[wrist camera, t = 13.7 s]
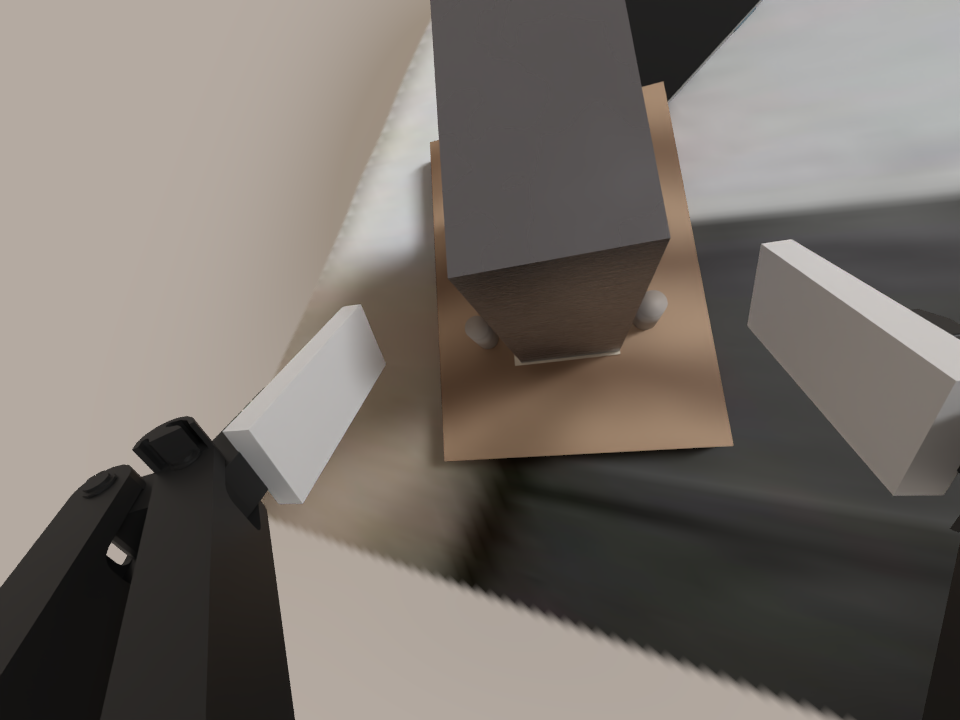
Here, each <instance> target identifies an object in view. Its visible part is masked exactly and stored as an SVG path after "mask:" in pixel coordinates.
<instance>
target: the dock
mask: <svg viewBox="0 0 960 720" xmlns="http://www.w3.org/2000/svg"><path fill="white" fill-rule="evenodd" d="M642 91H643V96H644V102H645V107H646V112H647V117H648V122H649V128H650V133H651V138H652V143H653V148H654V154H655V159H656V164H657V169H658V174H659V179H660V185H661V190H662V195H663V200H664V205H665V211H666V216H667V221H668V226H669V231H670V237H671V238H670V241H669V243H668V245H667V247H666V249H665V252H664V254H663V256H662V258H661V260H660V263H659V265H658V267H657V269H656V272H655V274H654V276H653V278H652V280H651V283H650V285H649V287H648V289H647V292H646V294H645V296H644V298H643V300H642V303H641V305H640V307H639V309H638V312H637V314H636V316H635V318H634V320H633V323H632V325H631V327H630V329H629V332H628V334H627V336H626V338H625V340H624V343H623V345H622V347H621V349H620V351H617V352H609V353H601V354H593V355H585V356H576V357H568V358H560V359H552V360H544V361H536V362H527V363H521V362H520V360H519V359H518V358H517V357H516V356H515V355H514V354H513V352H512V351H511V350H510V349H509V348H508V347H507V346H506V344H505V343H504V342H503V341H502V340H501V339H500V338H499V336H498V335H497V334H496V333H495V332H494V331H493V330H492V328H491V327H490V326H489V325H488V324H487V323H486V322H485V320H484V319H483V318H482V317H481V316H480V315H479V314H478V312H477V311H476V310H475V309H474V308H473V307H472V306H471V304H470V303H469V302H468V301H467V300H466V299H465V298H464V296H463V295H462V294H461V293H460V292H459V291H458V290H457V288H456V287H455V286H454V285H453V284H452V283H451V282H450V280H449V279H448V275H447V259H446V243H445V227H444V211H443V195H442V179H441V163H440V147H439V140H437V141H434V142H430V152H431V174H432V196H433V218H434V240H435V263H436V285H437V307H438V329H439V351H440V374H441V396H442V418H443V440H444V461H461V460H479V459H498V458H516V457H535V456H553V455H572V454H590V453H609V452H628V451H646V450H665V449H683V448H702V447H720V446H733V440H732V435H731V430H730V425H729V420H728V414H727V409H726V404H725V399H724V394H723V388H722V383H721V378H720V373H719V368H718V362H717V357H716V352H715V347H714V342H713V336H712V331H711V326H710V321H709V316H708V310H707V305H706V300H705V295H704V290H703V284H702V279H701V274H700V269H699V263H698V258H697V253H696V248H695V243H694V237H693V232H692V227H691V222H690V217H689V211H688V206H687V201H686V196H685V191H684V185H683V180H682V175H681V170H680V165H679V159H678V154H677V149H676V144H675V139H674V133H673V128H672V123H671V118H670V113H669V107H668V102H667V97H666V92H665V87H664V81H663V82H659V83H655V84H652V85H648V86H644V87H642Z"/></svg>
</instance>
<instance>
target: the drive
mask: <svg viewBox="0 0 960 720" xmlns="http://www.w3.org/2000/svg"><path fill="white" fill-rule="evenodd" d="M430 1H431V19H432V35H433V51H434V67H435V83H436V99H437V115H438V131H439V147H440V163H441V179H442V195H443V211H444V227H445V243H446V259H447V275H448V279H449V280H450V282H451V283H452V284H453V285H454V286H455V287H456V288H457V290H458V291H459V292H460V293H461V294H462V295H463V296H464V298H465V299H466V300H467V301H468V302H469V303H470V304H471V306H472V307H473V308H474V309H475V310H476V311H477V312H478V314H479V315H480V316H481V317H482V318H483V319H484V320H485V322H486V323H487V324H488V325H489V326H490V327H491V328H492V330H493V331H494V332H495V333H496V334H497V335H498V336H499V338H500V339H501V340H502V341H503V342H504V343H505V344H506V346H507V347H508V348H509V349H510V350H511V351H512V352H513V354H514V355H515V356H516V357H517V358H518V359H519V360H520V362H521V363H527V362H536V361H544V360H552V359H560V358H568V357H576V356H585V355H593V354H601V353H609V352H617V351H620V349H621V347H622V345H623V343H624V340H625V338H626V336H627V334H628V332H629V329H630V327H631V325H632V323H633V320H634V318H635V316H636V314H637V312H638V309H639V307H640V305H641V303H642V300H643V298H644V296H645V294H646V292H647V289H648V287H649V285H650V283H651V280H652V278H653V276H654V274H655V272H656V269H657V267H658V265H659V263H660V260H661V258H662V256H663V254H664V252H665V249H666V247H667V245H668V243H669V241H670V238H671V237H670V231H669V226H668V221H667V216H666V211H665V205H664V200H663V195H662V190H661V185H660V179H659V174H658V169H657V164H656V159H655V154H654V148H653V143H652V138H651V133H650V128H649V122H648V117H647V112H646V107H645V102H644V96H643V91H642V86H641V81H640V76H639V70H638V65H637V60H636V55H635V50H634V44H633V39H632V34H631V29H630V24H629V18H628V13H627V8H626V3H625V0H430Z"/></svg>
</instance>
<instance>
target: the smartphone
mask: <svg viewBox="0 0 960 720" xmlns="http://www.w3.org/2000/svg"><path fill="white" fill-rule="evenodd" d="M762 1H763V0H625V3H626V8H627V13H628V18H629V24H630V29H631V34H632V39H633V44H634V50H635V55H636V60H637V65H638V70H639V76H640V81H641V86H642V87H644V86H648V85H652V84H655V83H659V82H663V81H664V87H665V92H666V97H667V102H668V103H669V102H670V101H671V100H672V99H673V98H674V97H675V96H676V95H677V93H678V92H679V91H680V90H681V89H682V88H683V87H684V86H685V85H686V84H687V83H688V81H689V80H690V79H691V78H692V77H693V76H694V75H695V74H696V73H697V72H698V71H699V69H700V68H701V67H702V66H703V65H704V64H705V63H706V62H707V61H708V60H709V59H710V57H711V56H712V55H713V54H714V53H715V52H716V51H717V50H718V49H719V48H720V47H721V45H722V44H723V43H724V42H725V41H726V40H727V39H728V38H729V37H730V36H731V35H732V33H733V32H734V31H736V30H737V29H738V28H739V26H740V25H741V24H742V23H743V22H744V21H745V20H746V19H747V18H748V17H749V16H750V14H751V13H752V12H753V11H754V10H755V9H756V7H757V6H758V5H759V4H760V3H761V2H762Z"/></svg>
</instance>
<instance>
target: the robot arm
mask: <svg viewBox="0 0 960 720" xmlns="http://www.w3.org/2000/svg"><path fill="white" fill-rule="evenodd" d="M747 326H748V327H749V328H750V330H751V331H752V332H753V333H754V334H755V335H756V337H757V338H758V339H759V340H760V341H761V342H762V344H763V345H764V346H765V347H766V348H767V349H768V351H769V352H770V353H771V354H772V355H773V356H774V358H775V359H776V360H777V361H778V362H779V363H780V364H781V366H782V367H783V368H784V369H785V370H786V371H787V373H788V374H789V375H790V376H791V377H792V378H793V380H794V381H795V382H796V383H797V384H798V385H799V387H800V388H801V389H802V390H803V391H804V392H805V394H806V395H807V396H808V397H809V398H810V399H811V401H812V402H813V403H814V404H815V405H816V406H817V407H818V409H819V410H820V411H821V412H822V413H823V414H824V416H825V417H826V418H827V419H828V420H829V421H830V423H831V424H832V425H833V426H834V427H835V428H836V430H837V431H838V432H839V433H840V434H841V435H842V437H843V438H844V439H845V440H846V441H847V442H848V444H849V445H850V446H851V447H852V448H853V449H854V450H855V452H856V453H857V454H858V455H859V456H860V457H861V459H862V460H863V461H864V462H865V463H866V464H867V466H868V467H869V468H870V469H871V470H872V471H873V473H874V474H875V475H876V476H877V477H878V478H879V480H880V481H881V482H882V483H883V484H884V485H885V487H886V488H887V489H888V490H889V491H890V492H891V494H892V495H893V496H913V495H944V494H945V492H946V491H947V489H948V488H949V486H950V485H951V483H952V482H953V480H954V479H955V477H956V475H957V474H958V472H959V473H960V324H958V323H956V322H954V321H952V320H951V319H948V318H945V317H942V316H939V315H936V314H932V313H929V312H926V311H923V310H920V309H913V310H909V309H907V308H906V307H904V306H902V305H901V304H899V303H897V302H896V301H894V300H892V299H891V298H889V297H887V296H886V295H884V294H882V293H881V292H879V291H877V290H875V289H874V288H872V287H870V286H869V285H867V284H865V283H864V282H862V281H860V280H859V279H857V278H855V277H854V276H852V275H850V274H849V273H847V272H845V271H844V270H842V269H840V268H839V267H837V266H835V265H834V264H832V263H830V262H829V261H827V260H825V259H824V258H822V257H820V256H819V255H817V254H815V253H814V252H812V251H810V250H808V249H807V248H805V247H803V246H802V245H800V244H798V243H797V242H795V241H793V240H792V239H790V240H784V241H777V242H770V243H764V244H761V248H760V254H759V260H758V265H757V271H756V277H755V283H754V289H753V294H752V300H751V306H750V312H749V318H748V324H747ZM385 365H386V363H385V361H384V358H383V356H382V353H381V351H380V349H379V346H378V344H377V342H376V339H375V337H374V334H373V332H372V330H371V327H370V325H369V322H368V320H367V318H366V315H365V313H364V311H363V308H362V306H361V304H357V305H351V306H344V307H342V308H341V309H340V310H339V311H338V312H337V313H336V314H335V315H334V316H333V317H332V318H331V319H330V320H329V321H328V322H327V324H326V325H325V326H324V327H323V328H322V329H321V330H320V331H319V332H318V333H317V334H316V335H315V336H314V337H313V338H312V339H311V340H310V341H309V342H308V343H307V344H306V345H305V346H304V347H303V348H302V349H301V351H300V352H299V353H298V354H297V355H296V356H295V357H294V358H293V359H292V360H291V361H290V362H289V363H288V364H287V365H286V366H285V367H284V368H283V369H282V370H281V371H280V372H279V373H278V374H277V375H276V376H275V378H274V379H273V380H272V381H271V382H270V383H269V384H268V385H267V386H266V387H264V388H263V389H262V390H261V391H260V392H259V393H258V394H257V395H256V396H255V397H254V398H253V400H252V401H251V402H250V403H249V404H248V405H247V406H246V407H245V408H244V410H243V411H241V412H240V413H239V414H238V415H237V416H236V417H235V418H234V419H233V420H232V421H231V423H229V424H228V425H227V427H225V428H224V429H223V431H221V433H220V434H219V435H218V436H217V437H216V438H215V439H214V440H213V441H211V439H210V438H209V437H208V436H207V434H206V433H205V432H204V431H203V429H202V428H201V427H200V426H199V425H198V423H197V422H196V421H195V420H194V418H192V417H188V416H186V417H180V418H176V419H173V420H171V421H168V422H166V423H164V424H162V425H160V426H158V427H156V428H155V429H153V430H152V431H150V432H149V433H147V434H146V435H145V436H144V437H142V438H141V439H140V441H138V442H137V443H136V445H135V446H134V448H133V449H132V450H133V451H134V452H135V453H136V454H137V455H138V456H139V457H140V458H141V459H142V460H143V461H144V462H145V463H146V464H147V466H149V468H150V469H151V470H152V471H153V472H154V473H153V474H150V475H146V476H143V477H141V476H140V475H139V474H138V473H137V472H136V471H135V470H134V469H133V468H132V467H131V466H129V465H120V466H116V467H112V468H110V469H108V470H106V471H102V472H100V473H98V474H96V476H95V475H94V476H93V477H91V478H89V479H88V480H87V481H86V483H85V484H83V485H82V486H81V487H80V488H78V490H77V491H75V492H74V494H73V495H72V496H71V497H70V498H69V499H68V501H67V502H66V503H65V505H64V506H63V507H62V508H61V510H60V511H59V512H58V514H57V515H56V516H55V518H54V519H53V520H52V521H51V523H50V524H49V525H48V527H47V528H46V530H45V531H44V532H43V533H42V534H41V536H40V537H39V538H38V540H37V541H36V542H35V543H34V545H33V546H32V547H31V549H30V550H29V551H28V553H27V554H26V555H25V556H24V558H23V559H22V560H21V562H20V563H19V564H18V565H17V567H16V568H15V570H14V571H13V572H12V573H11V575H10V576H9V577H8V578H7V580H6V581H5V582H4V584H3V585H2V586H1V588H0V720H295V717H294V709H293V702H292V695H291V687H290V680H289V672H288V665H287V657H286V650H285V642H284V635H283V627H282V620H281V612H280V605H279V598H278V590H277V583H276V575H275V568H274V560H273V553H272V545H271V539H270V530H269V523H268V515H267V510H266V508H265V506H264V504H263V503H262V502H261V501H260V500H261V499H262V497H263V496H264V495H265V493H266V492H267V490H268V491H269V492H270V493H271V495H272V496H273V497H274V499H275V500H276V501H277V502H278V504H303V502H304V501H305V499H306V497H307V496H308V494H309V492H310V491H311V489H312V487H313V486H314V484H315V482H316V481H317V479H318V477H319V476H320V474H321V472H322V471H323V469H324V467H325V466H326V464H327V462H328V461H329V459H330V457H331V456H332V454H333V452H334V451H335V449H336V447H337V446H338V444H339V442H340V441H341V439H342V437H343V436H344V434H345V432H346V431H347V429H348V427H349V425H350V424H351V422H352V420H353V419H354V417H355V415H356V414H357V412H358V410H359V409H360V407H361V405H362V404H363V402H364V400H365V399H366V397H367V395H368V394H369V392H370V390H371V389H372V387H373V385H374V384H375V382H376V380H377V379H378V377H379V375H380V374H381V372H382V370H383V369H384V367H385ZM950 529H952V530H954V531H957V532H960V516H959V517H958V518H957V520H956V521H955V523H954V524H953V525H952V527H951V528H950ZM111 542H112V543H113V544H114V545H116V546H117V547H118V548H119V549H120V550H122V551H123V552H124V553H126V554H127V557H126V559H125V561H124V563H123V564H122V565H119V564H117V563H116V562H114V561H113V560H112V559H110V558H109V557H108V556H106V554H107V550H108V547H109V545H110V544H111ZM922 720H960V545H959V549H958V554H957V559H956V564H955V568H954V573H953V578H952V582H951V587H950V592H949V596H948V601H947V606H946V610H945V615H944V620H943V625H942V629H941V634H940V639H939V643H938V648H937V653H936V657H935V662H934V667H933V671H932V676H931V681H930V685H929V690H928V695H927V700H926V704H925V709H924V714H923V718H922Z"/></svg>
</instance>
